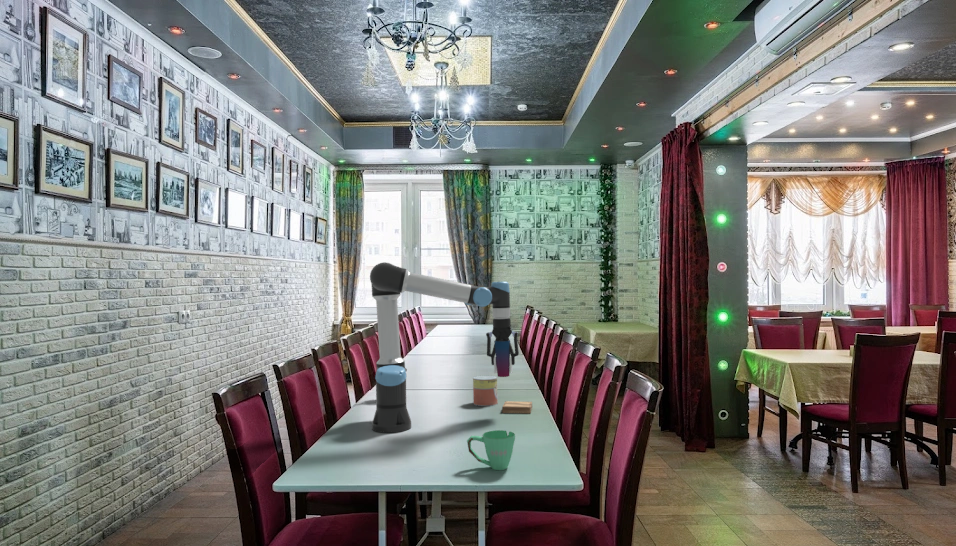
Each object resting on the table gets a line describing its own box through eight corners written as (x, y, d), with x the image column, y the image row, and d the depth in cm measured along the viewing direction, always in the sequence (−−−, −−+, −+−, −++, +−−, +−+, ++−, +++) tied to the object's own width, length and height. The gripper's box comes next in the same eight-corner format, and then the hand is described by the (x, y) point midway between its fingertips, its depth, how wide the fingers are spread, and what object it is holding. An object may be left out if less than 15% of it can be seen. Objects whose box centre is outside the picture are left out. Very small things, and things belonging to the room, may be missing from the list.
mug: (515, 462, 182) (515, 430, 182) (515, 472, 172) (514, 438, 172) (468, 462, 183) (468, 430, 183) (465, 472, 173) (465, 438, 173)
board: (530, 413, 248) (530, 407, 248) (502, 412, 250) (502, 406, 250) (532, 407, 260) (532, 401, 260) (505, 406, 262) (505, 401, 262)
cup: (502, 374, 252) (500, 339, 252) (514, 375, 248) (513, 340, 248) (492, 376, 247) (490, 341, 247) (504, 377, 243) (503, 341, 243)
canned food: (496, 406, 264) (495, 379, 264) (471, 405, 266) (471, 379, 266) (499, 401, 275) (498, 375, 275) (475, 400, 277) (475, 375, 277)
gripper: (524, 316, 250) (526, 371, 249) (481, 317, 253) (482, 371, 253) (523, 318, 242) (524, 374, 242) (477, 319, 246) (479, 374, 245)
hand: (503, 372), depth 247 cm, fingers closed on cup, 6 cm apart
